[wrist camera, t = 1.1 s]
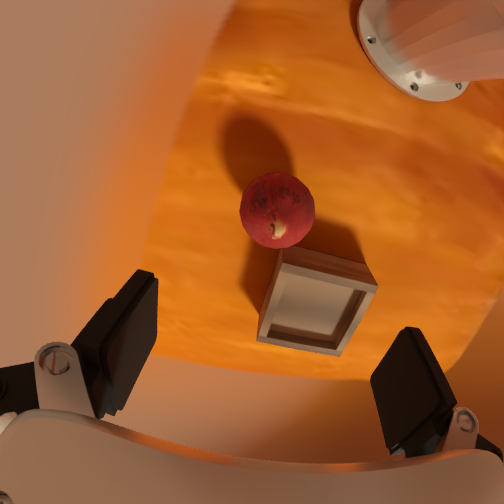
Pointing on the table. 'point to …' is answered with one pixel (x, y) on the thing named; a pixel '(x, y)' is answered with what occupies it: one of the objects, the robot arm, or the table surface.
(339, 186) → the table surface
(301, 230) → the onion
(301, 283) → the base
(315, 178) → the table surface
